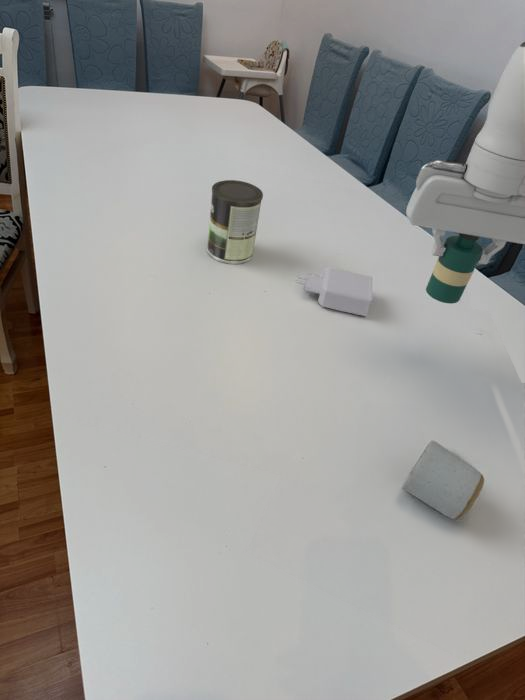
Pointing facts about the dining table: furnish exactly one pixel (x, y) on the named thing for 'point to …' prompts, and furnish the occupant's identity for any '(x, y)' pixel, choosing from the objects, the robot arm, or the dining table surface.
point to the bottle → (454, 268)
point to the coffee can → (233, 221)
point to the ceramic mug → (444, 481)
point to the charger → (341, 290)
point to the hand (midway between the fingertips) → (458, 258)
